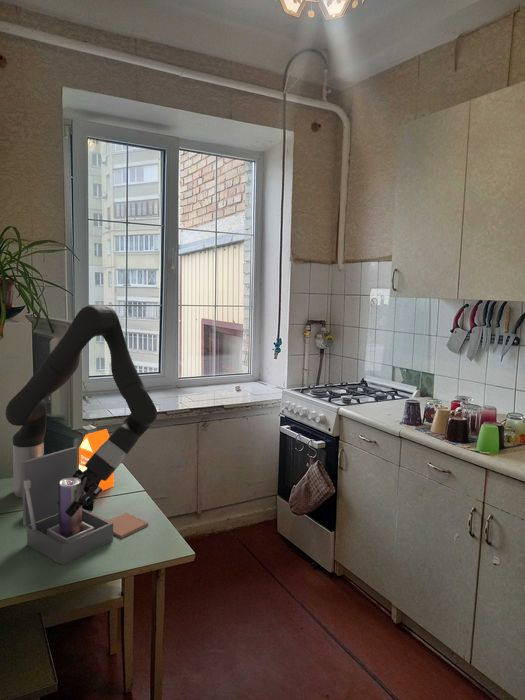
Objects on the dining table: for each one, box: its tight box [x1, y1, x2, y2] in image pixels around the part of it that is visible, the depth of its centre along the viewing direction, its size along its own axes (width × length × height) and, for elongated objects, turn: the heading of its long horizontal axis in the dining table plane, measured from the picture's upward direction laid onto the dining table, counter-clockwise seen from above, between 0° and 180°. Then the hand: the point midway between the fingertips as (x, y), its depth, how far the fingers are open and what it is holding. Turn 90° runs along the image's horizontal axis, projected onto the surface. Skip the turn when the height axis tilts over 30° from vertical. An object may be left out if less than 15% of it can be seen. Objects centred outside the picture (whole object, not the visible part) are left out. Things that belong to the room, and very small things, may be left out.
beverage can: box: [58, 478, 82, 538], centre depth 138 cm, size 6×6×15 cm
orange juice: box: [78, 428, 115, 491], centre depth 174 cm, size 8×9×20 cm
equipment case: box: [22, 446, 114, 566], centre depth 138 cm, size 18×16×23 cm
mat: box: [107, 512, 149, 539], centre depth 149 cm, size 10×10×1 cm
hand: (64, 509), depth 137 cm, fingers closed on beverage can, 6 cm apart
